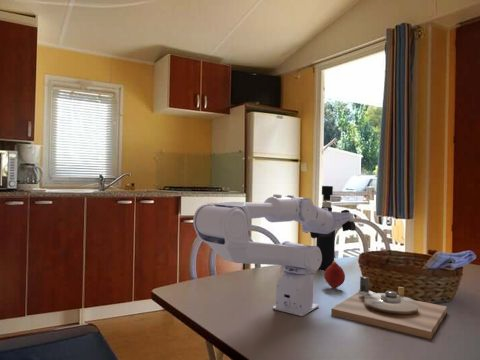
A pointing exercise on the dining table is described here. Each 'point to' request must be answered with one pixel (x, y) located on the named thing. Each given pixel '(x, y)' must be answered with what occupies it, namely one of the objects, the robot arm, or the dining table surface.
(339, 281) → the red oval fruit
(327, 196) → the wine bottle
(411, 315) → the base board
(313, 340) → the dining table surface
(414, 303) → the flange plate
